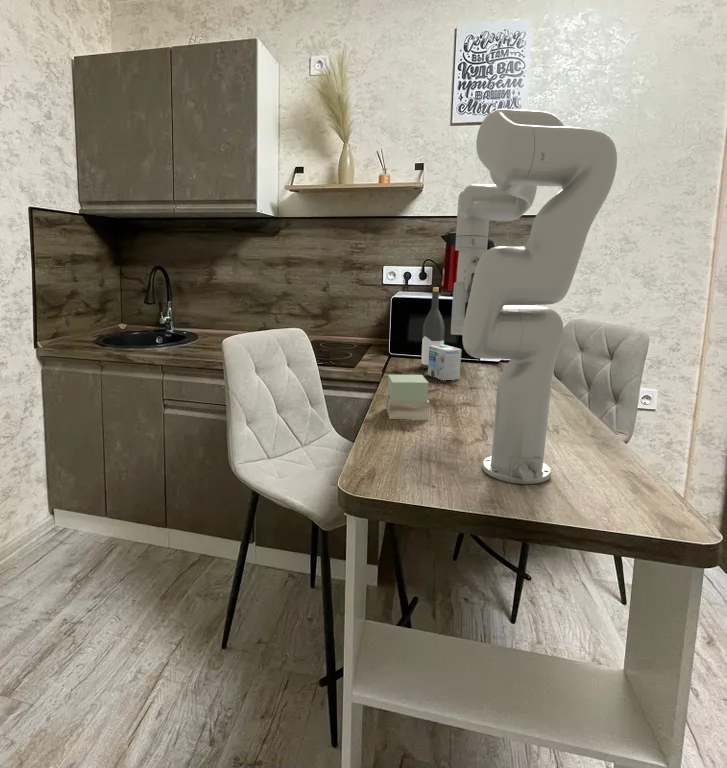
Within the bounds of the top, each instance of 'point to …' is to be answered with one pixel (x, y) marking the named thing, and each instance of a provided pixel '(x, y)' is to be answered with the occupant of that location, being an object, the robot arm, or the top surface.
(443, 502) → the top surface
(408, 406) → the tower base
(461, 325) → the supplement box
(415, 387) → the tower top
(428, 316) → the wine bottle
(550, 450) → the top surface
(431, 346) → the light bulb box
